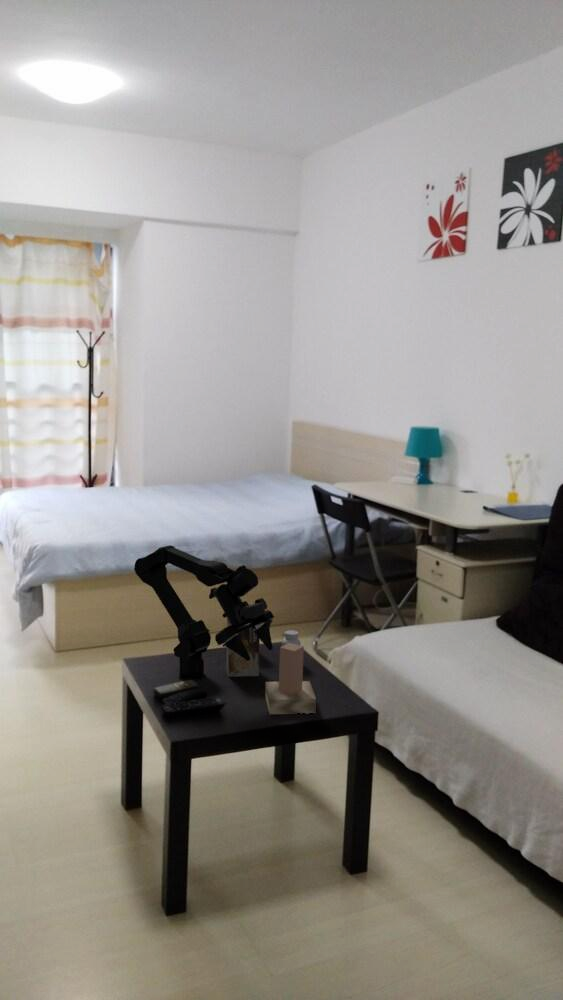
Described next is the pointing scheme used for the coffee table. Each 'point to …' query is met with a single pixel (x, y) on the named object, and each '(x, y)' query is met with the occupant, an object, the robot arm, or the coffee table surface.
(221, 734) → the coffee table surface
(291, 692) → the tower block
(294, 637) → the supplement bottle
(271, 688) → the base brick
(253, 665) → the coffee box
